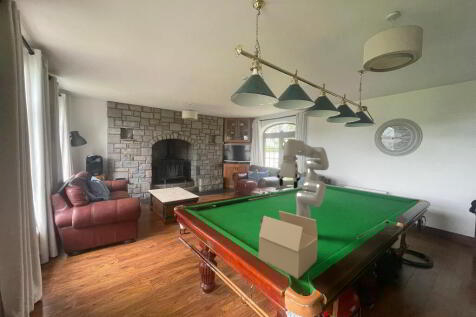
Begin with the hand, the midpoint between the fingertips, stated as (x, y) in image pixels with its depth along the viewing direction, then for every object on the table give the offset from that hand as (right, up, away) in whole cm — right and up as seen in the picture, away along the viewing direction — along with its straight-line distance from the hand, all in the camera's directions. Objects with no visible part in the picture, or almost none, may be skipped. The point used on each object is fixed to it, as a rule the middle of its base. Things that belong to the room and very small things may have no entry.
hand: (288, 186), depth 112 cm
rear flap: (+3, -20, -9) cm, 22 cm away
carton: (-4, -36, -15) cm, 40 cm away
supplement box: (-13, -36, +2) cm, 38 cm away
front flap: (-10, -19, -22) cm, 31 cm away
